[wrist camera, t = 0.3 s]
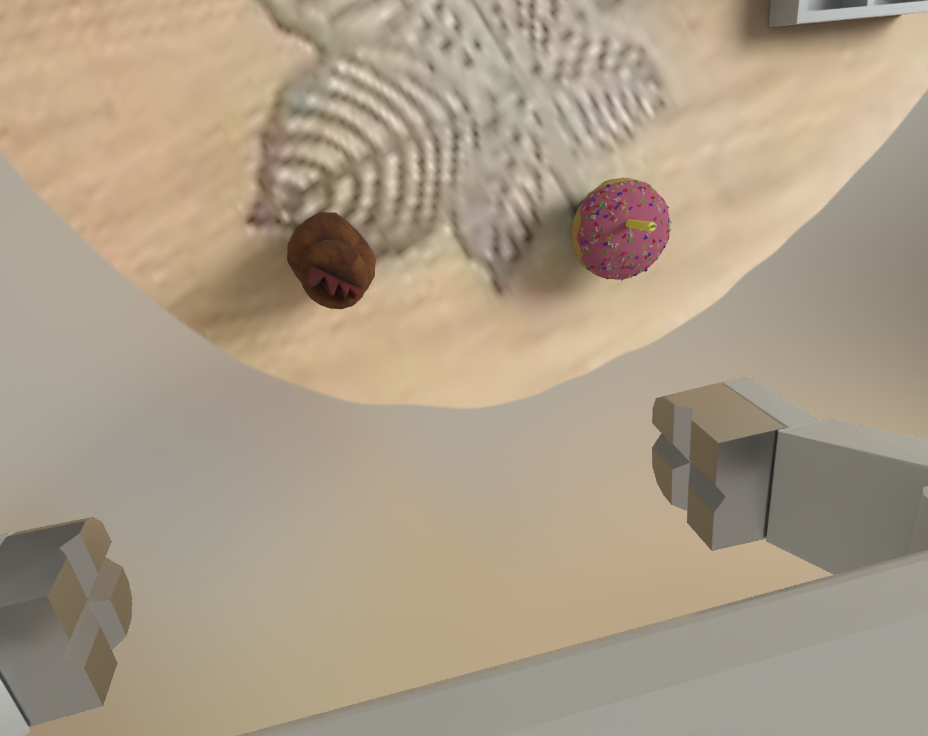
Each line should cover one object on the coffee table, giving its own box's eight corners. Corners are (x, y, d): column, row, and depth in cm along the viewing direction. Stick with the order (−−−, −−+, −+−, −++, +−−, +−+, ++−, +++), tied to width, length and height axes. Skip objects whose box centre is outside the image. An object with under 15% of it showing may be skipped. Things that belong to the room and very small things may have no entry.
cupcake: (540, 203, 57) (593, 230, 46) (623, 152, 57) (696, 167, 46) (578, 283, 61) (636, 325, 50) (656, 236, 61) (731, 268, 50)
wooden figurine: (275, 239, 53) (263, 290, 40) (326, 191, 53) (332, 227, 39) (333, 297, 56) (340, 363, 43) (382, 253, 56) (406, 305, 42)
